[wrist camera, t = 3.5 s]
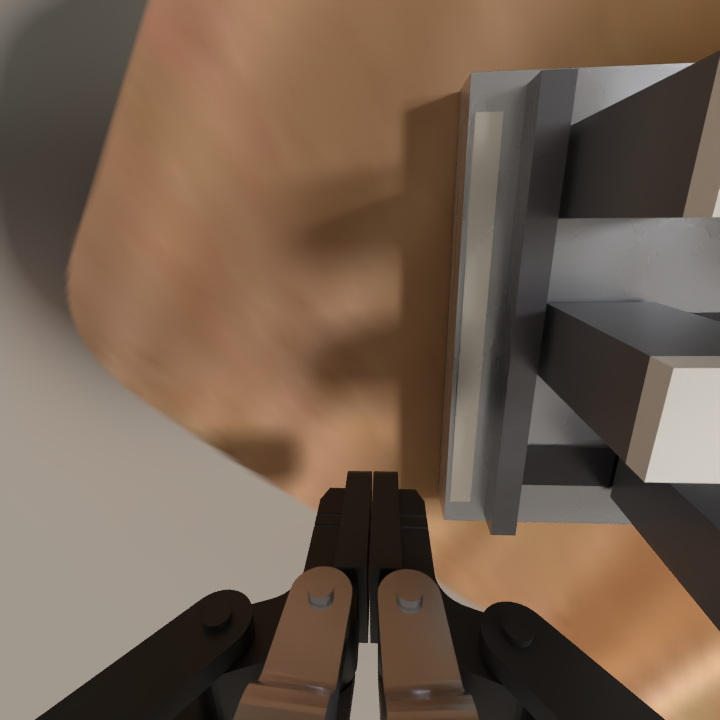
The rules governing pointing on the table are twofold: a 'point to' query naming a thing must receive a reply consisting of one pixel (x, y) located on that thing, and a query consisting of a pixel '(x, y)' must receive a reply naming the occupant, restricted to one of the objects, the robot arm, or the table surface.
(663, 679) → the table surface
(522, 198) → the breaker panel
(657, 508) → the breaker
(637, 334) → the block
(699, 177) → the block
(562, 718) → the robot arm
